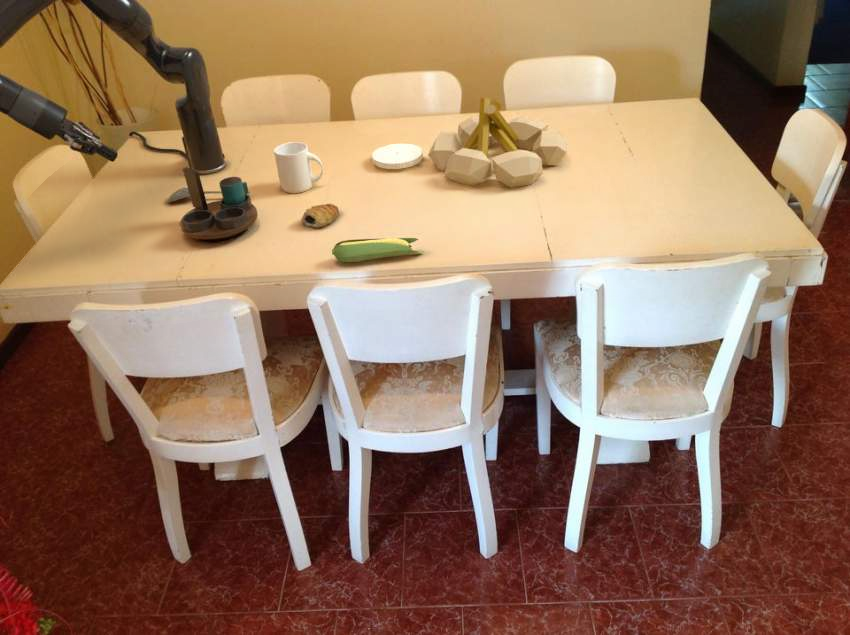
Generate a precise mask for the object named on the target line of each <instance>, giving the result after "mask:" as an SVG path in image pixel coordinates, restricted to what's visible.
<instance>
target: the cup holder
mask: <svg viewBox="0 0 850 635" xmlns="http://www.w3.org/2000/svg"><path fill="white" fill-rule="evenodd" d="M182 173H183V176H184V179H185V182H186V183H185V184H186V186H187V187H186V188H188V190H189V194H190V196H189V197H190V201H191V204H192V207H193V209H190V210H189V211H187V212H186V213H185V214H184V215H183V216H181V219H180V222H179V227H180V229H181V232H182V234H184V235H185V236H187V237H189V238H192V239H196V240H198V239H217V238H223V237H227V236H231V235H234V234H237V233H239V232H241V231H243V230H245V229H247V228H248V227H249V228H250V227H252V226H253V225H254V223H255V222H256V221H257V219H258V216H259V215H258V209H257V207H256V206H255V205H254V204H253V203H252V199H251V196H248V195H246V194H247V193H249V192H250V191H249V187H248V184H247V181H243V180H242V177H239V176H229V177H225V178H222V179H221V180H220V181H219V183H218V184H219V188H220V191H221V192H222V193H221V195H222V198H221V199H220V200H215V201H211V202H207V199H206V194H204V192H205V190H204V187H203V184H202V180H201V177H200V174H199V172H198V171H195V170H193V169H190V167H189V166H188V167H187V166H185V167H183V168H182ZM249 228H248V229H249Z"/></svg>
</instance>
